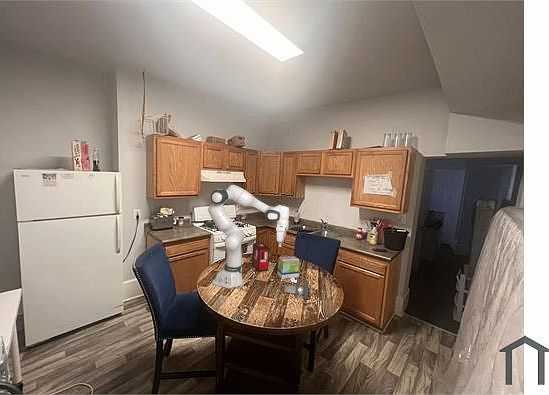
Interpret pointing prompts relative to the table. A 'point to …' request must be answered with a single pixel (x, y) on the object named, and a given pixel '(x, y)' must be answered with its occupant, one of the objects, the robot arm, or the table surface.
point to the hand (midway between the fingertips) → (281, 244)
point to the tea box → (288, 267)
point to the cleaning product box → (260, 257)
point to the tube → (293, 290)
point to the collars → (305, 288)
